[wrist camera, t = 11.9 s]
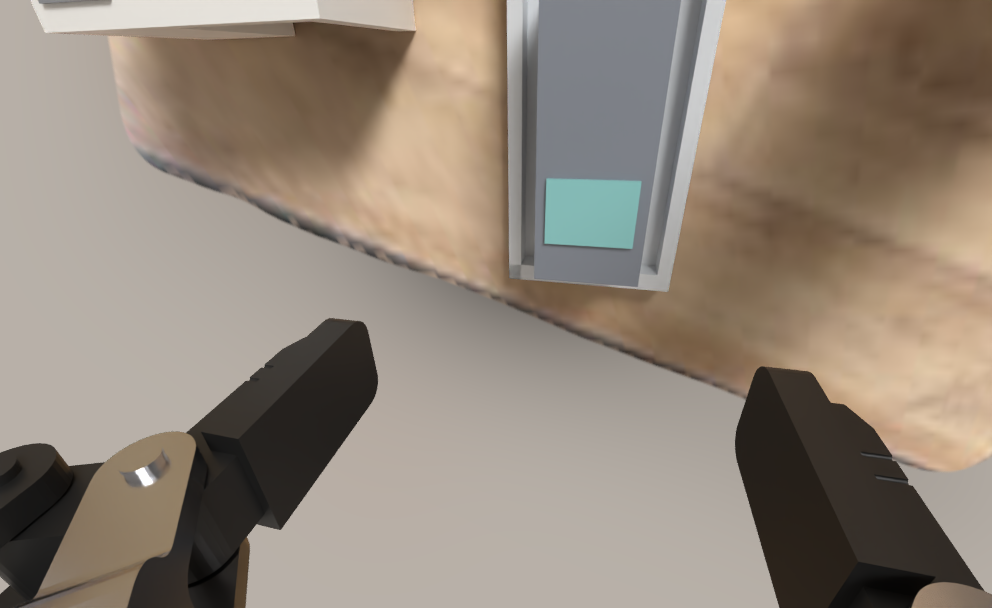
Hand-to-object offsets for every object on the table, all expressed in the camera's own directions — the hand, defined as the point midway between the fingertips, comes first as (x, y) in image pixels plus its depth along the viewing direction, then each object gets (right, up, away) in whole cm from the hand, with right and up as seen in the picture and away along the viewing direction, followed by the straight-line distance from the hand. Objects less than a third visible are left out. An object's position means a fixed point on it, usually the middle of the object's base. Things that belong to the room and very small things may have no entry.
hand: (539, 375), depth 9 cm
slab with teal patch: (+5, +11, +14) cm, 18 cm away
